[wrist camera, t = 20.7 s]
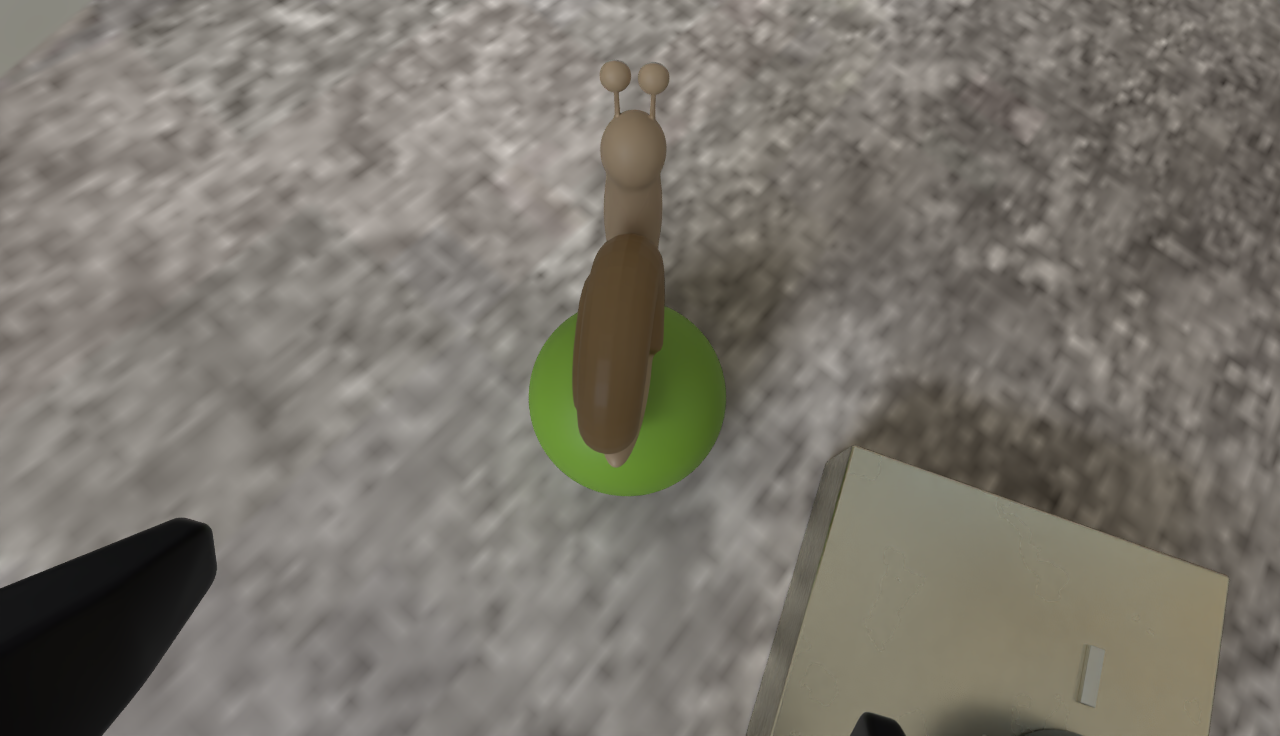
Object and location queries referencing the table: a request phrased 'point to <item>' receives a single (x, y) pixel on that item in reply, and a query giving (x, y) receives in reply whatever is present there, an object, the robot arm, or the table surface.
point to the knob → (1052, 733)
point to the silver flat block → (982, 618)
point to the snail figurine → (628, 335)
